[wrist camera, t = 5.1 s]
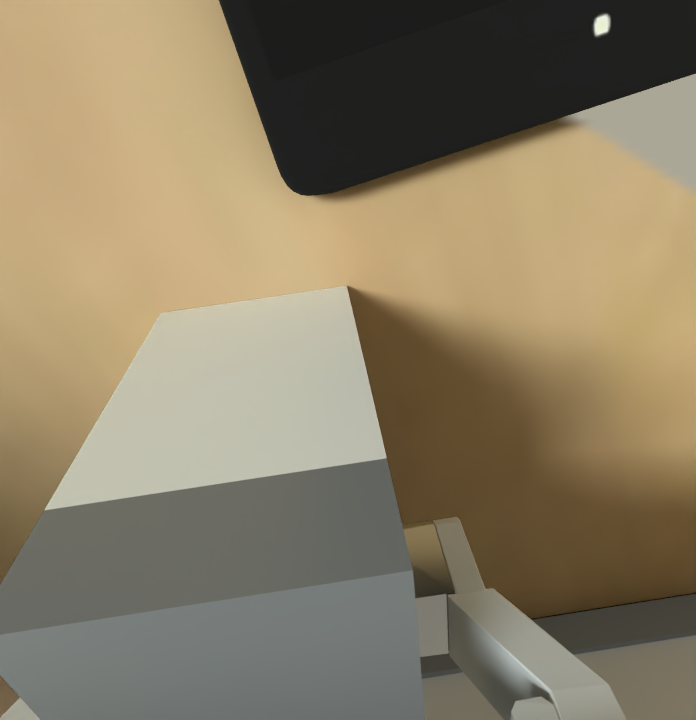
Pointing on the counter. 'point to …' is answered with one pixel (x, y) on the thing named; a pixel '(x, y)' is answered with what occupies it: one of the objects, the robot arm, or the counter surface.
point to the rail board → (598, 662)
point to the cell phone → (439, 73)
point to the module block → (224, 536)
